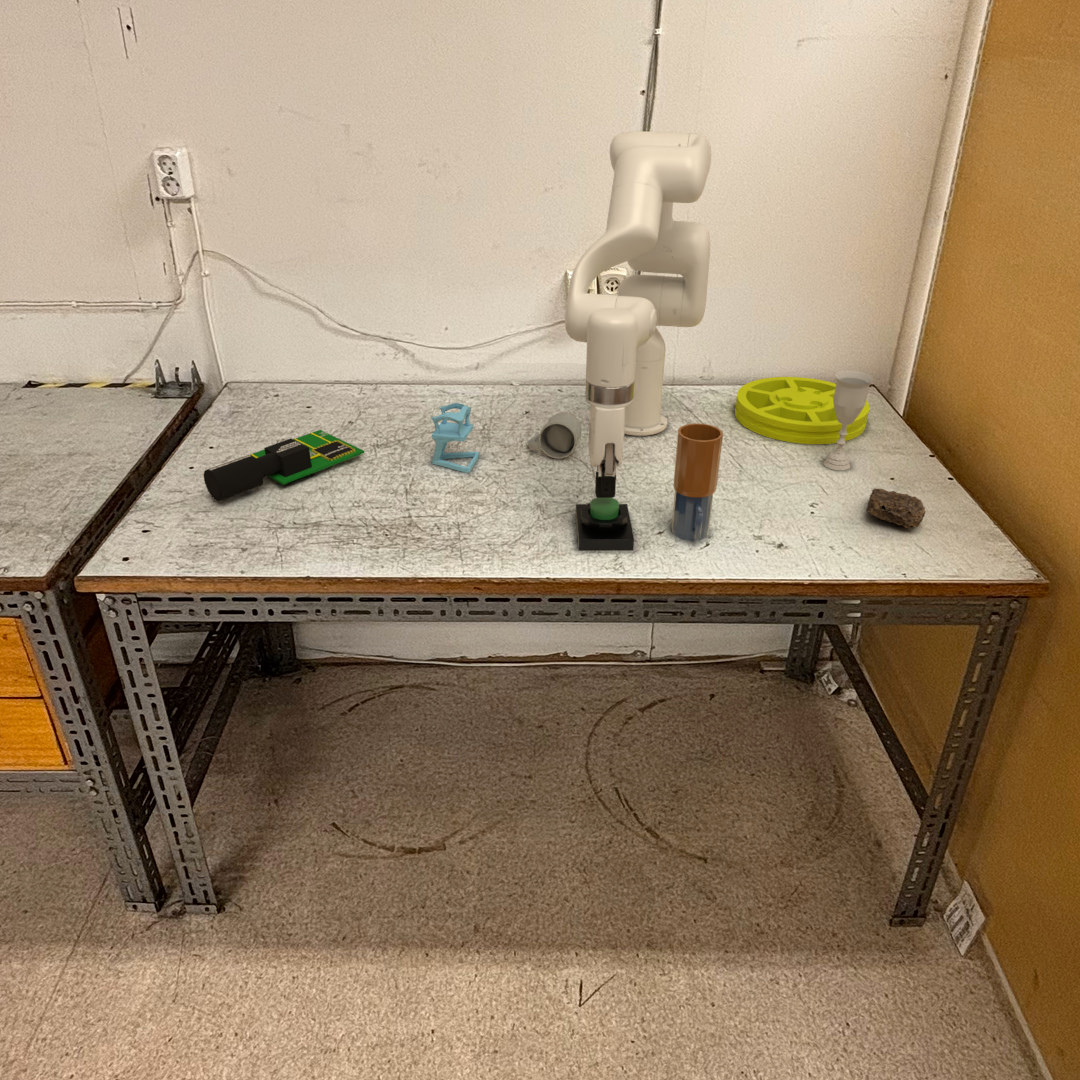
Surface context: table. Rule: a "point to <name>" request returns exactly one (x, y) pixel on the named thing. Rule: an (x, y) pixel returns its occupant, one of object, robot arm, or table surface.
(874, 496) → the concrete sample
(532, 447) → the ceramic mug
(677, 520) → the mug
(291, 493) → the table surface
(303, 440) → the circuit board with cylinder
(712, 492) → the glass
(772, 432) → the pulley
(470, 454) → the chair
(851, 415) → the chalice
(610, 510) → the button
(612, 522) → the button box
